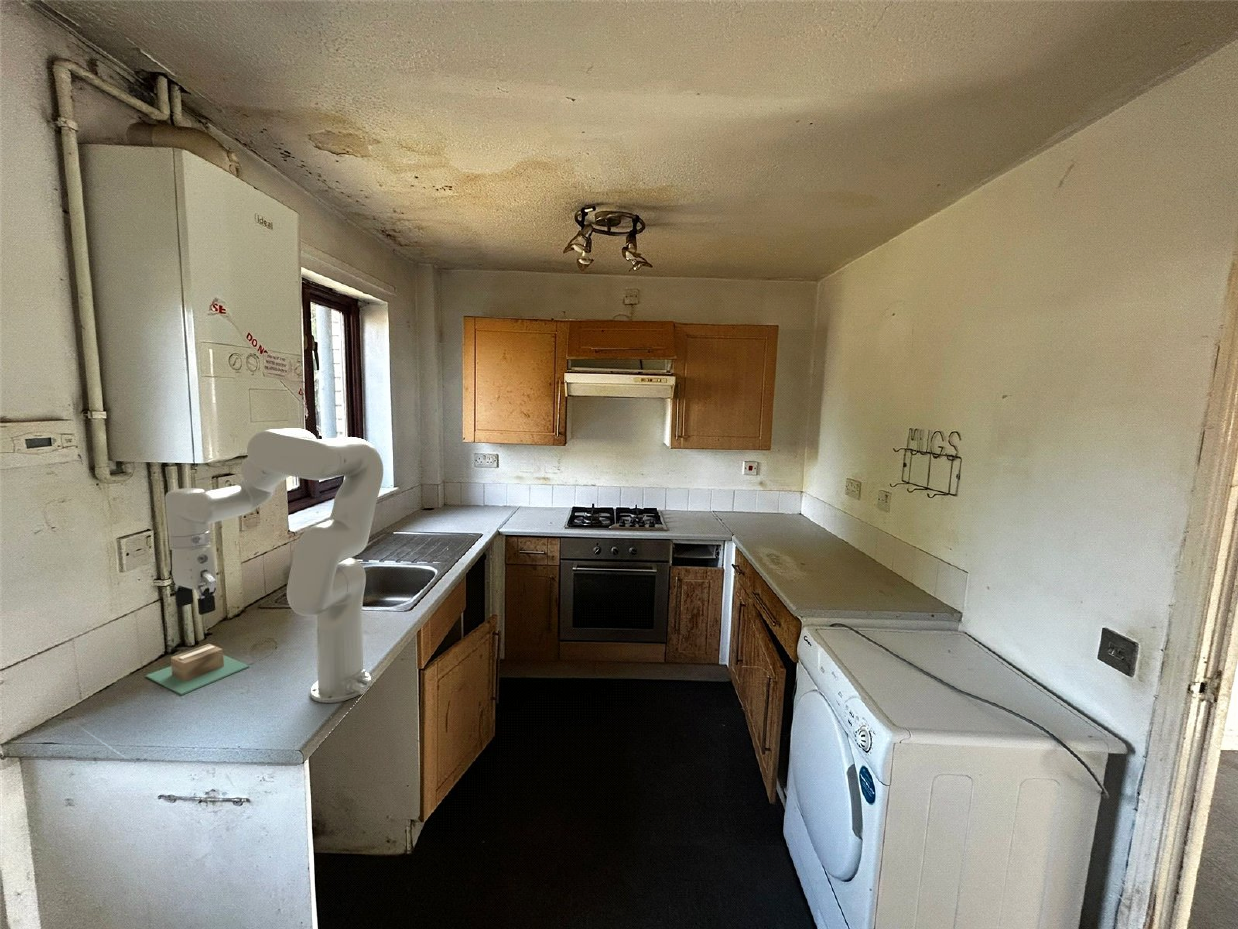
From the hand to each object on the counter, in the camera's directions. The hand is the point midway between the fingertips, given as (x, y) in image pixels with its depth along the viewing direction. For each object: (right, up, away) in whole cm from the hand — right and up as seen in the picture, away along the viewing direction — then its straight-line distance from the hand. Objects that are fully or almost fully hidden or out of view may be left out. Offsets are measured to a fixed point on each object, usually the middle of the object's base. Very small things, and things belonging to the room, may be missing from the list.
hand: (196, 608), depth 121 cm
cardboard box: (-1, -16, +2) cm, 16 cm away
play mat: (-1, -16, +2) cm, 16 cm away
